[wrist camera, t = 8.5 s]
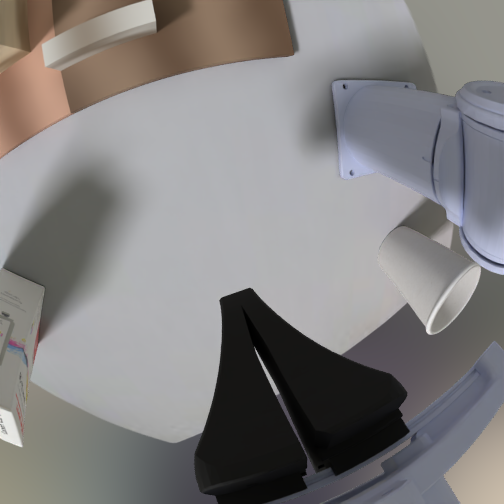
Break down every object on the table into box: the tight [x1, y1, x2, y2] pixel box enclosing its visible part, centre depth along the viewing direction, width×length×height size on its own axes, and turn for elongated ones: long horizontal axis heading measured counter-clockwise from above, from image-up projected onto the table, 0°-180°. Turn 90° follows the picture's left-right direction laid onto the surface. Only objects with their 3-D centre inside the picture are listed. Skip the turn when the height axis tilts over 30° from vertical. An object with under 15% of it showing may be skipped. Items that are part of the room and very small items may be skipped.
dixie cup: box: [377, 226, 481, 334], centre depth 23 cm, size 8×8×10 cm
